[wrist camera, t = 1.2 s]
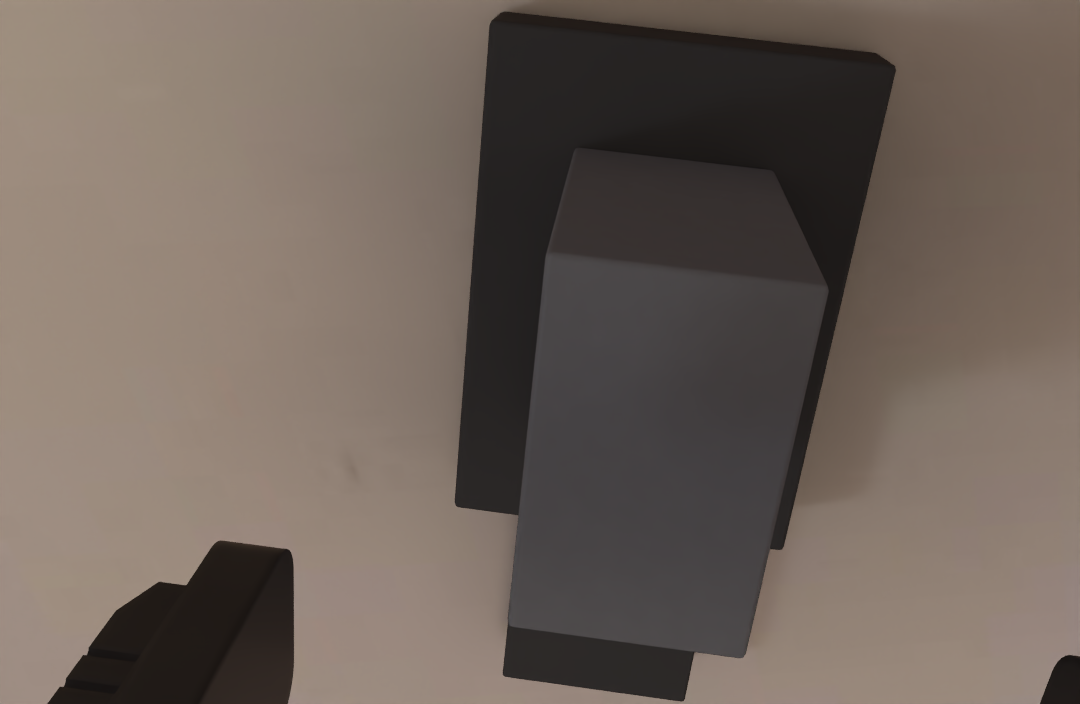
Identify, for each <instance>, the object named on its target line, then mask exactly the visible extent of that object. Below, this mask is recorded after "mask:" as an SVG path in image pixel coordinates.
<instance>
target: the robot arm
mask: <svg viewBox="0 0 1080 704" xmlns="http://www.w3.org/2000/svg"><path fill="white" fill-rule="evenodd" d="M293 668H294V570H293V558H292V554H291V552H290V551H289V550H288V549H281V548H274V547H266V546H259V545H251V544H243V543H236V542H228V541H218V542H216V543H215V544H214V545H213V546H212V548H211V549H210V551H209V552H208V554H207V555H206V557H205V558H204V560H203V561H202V563H201V564H200V566H199V567H198V569H197V570H196V572H195V573H194V575H193V576H192V578H191V579H190V581H189V582H188V584H187V585H178V584H171V583H163V582H158V583H156V584H155V585H154V586H152V587H151V588H149V589H148V590H146V591H145V592H143V593H142V594H140V595H139V596H137V597H136V598H134V599H133V600H131V601H130V602H128V603H127V604H125V605H124V606H122V607H121V608H119V609H118V610H116V612H115V613H114V614H113V616H112V617H111V618H110V620H109V621H108V622H107V624H106V625H105V626H104V628H103V629H102V630H101V632H100V633H99V635H98V636H97V637H96V639H95V640H94V641H93V643H92V644H91V645H90V647H89V651H88V654H87V656H86V655H83V656H82V658H81V659H80V660H79V662H78V663H77V664H76V666H75V667H74V668H73V670H72V671H71V673H70V674H69V675H68V677H67V678H66V683H65V686H64V687H59V689H58V690H57V691H56V693H55V694H54V696H53V697H52V698H51V700H50V701H49V702H48V704H288V700H289V696H290V691H291V685H292V678H293ZM1040 704H1080V656H1073V655H1068V656H1065V657H1063V658H1061V659H1060V660H1059V661H1058V662H1057V664H1056V665H1055V667H1054V669H1053V671H1052V674H1051V676H1050V679H1049V681H1048V684H1047V687H1046V689H1045V692H1044V695H1043V697H1042V700H1041V702H1040Z"/></svg>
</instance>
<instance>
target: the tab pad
mask: <svg viewBox="0 0 1080 704" xmlns="http://www.w3.org/2000/svg"><path fill="white" fill-rule="evenodd" d="M895 72H896V69H895V66H894V65H893V64H891V63H890V62H888V61H887V60H885V59H884V58H882V57H881V56H879V55H878V54H876V53H869V52H861V51H852V50H843V49H834V48H825V47H816V46H807V45H798V44H789V43H780V42H771V41H762V40H753V39H744V38H735V37H727V36H718V35H709V34H700V33H691V32H682V31H673V30H664V29H655V28H646V27H637V26H628V25H619V24H610V23H601V22H593V21H584V20H575V19H566V18H557V17H548V16H539V15H530V14H521V13H512V12H502V13H500V14H499V15H498V16H497V17H496V18H494V19H493V20H492V21H491V23H490V27H489V41H488V55H487V68H486V82H485V96H484V110H483V123H482V137H481V151H480V164H479V178H478V192H477V205H476V219H475V233H474V246H473V260H472V274H471V287H470V301H469V315H468V328H467V342H466V356H465V370H464V383H463V397H462V411H461V424H460V438H459V452H458V465H457V479H456V493H455V504H456V506H457V507H461V508H469V509H476V510H484V511H491V512H499V513H506V514H514V515H519V516H518V526H517V535H516V545H515V554H514V564H513V574H512V583H511V593H510V602H509V612H508V628H507V638H506V647H505V657H504V667H503V675H504V676H505V677H511V678H518V679H525V680H532V681H540V682H547V683H554V684H561V685H568V686H575V687H582V688H589V689H596V690H604V691H611V692H618V693H625V694H632V695H639V696H646V697H653V698H660V699H668V700H675V701H684V699H685V695H686V690H687V685H688V680H689V676H690V671H691V666H692V661H693V656H694V652H698V653H705V654H713V655H720V656H727V657H734V658H743V657H744V655H745V654H746V650H747V646H748V641H749V637H750V633H751V628H752V624H753V620H754V615H755V611H756V606H757V602H758V598H759V593H760V589H761V585H762V580H763V576H764V572H765V567H766V563H767V558H768V554H769V550H770V549H776V550H782V548H783V547H784V543H785V539H786V534H787V530H788V526H789V522H790V518H791V513H792V509H793V505H794V501H795V496H796V492H797V488H798V484H799V479H800V475H801V471H802V467H803V462H804V458H805V454H806V450H807V445H808V441H809V437H810V433H811V428H812V424H813V420H814V416H815V411H816V407H817V403H818V399H819V394H820V390H821V386H822V382H823V377H824V373H825V369H826V365H827V360H828V356H829V352H830V348H831V343H832V339H833V335H834V331H835V326H836V322H837V318H838V314H839V309H840V305H841V301H842V297H843V292H844V288H845V284H846V280H847V275H848V271H849V267H850V263H851V258H852V254H853V250H854V246H855V241H856V237H857V233H858V229H859V224H860V220H861V216H862V212H863V207H864V203H865V199H866V195H867V190H868V186H869V182H870V178H871V173H872V169H873V165H874V161H875V156H876V152H877V148H878V144H879V140H880V135H881V131H882V127H883V123H884V118H885V114H886V110H887V106H888V101H889V97H890V93H891V89H892V84H893V80H894V76H895Z"/></svg>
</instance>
